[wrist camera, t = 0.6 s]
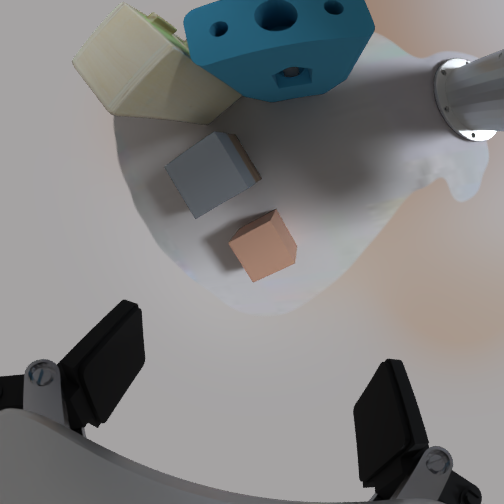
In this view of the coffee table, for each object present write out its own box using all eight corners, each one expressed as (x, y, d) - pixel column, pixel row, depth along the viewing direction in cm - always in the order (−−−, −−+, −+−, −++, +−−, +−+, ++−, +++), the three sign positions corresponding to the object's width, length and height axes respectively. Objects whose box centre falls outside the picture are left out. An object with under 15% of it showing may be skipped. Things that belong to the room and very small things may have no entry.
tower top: (226, 133, 31) (214, 131, 27) (256, 182, 32) (248, 188, 28) (181, 163, 33) (164, 166, 29) (208, 209, 35) (195, 219, 31)
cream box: (249, 92, 32) (181, 40, 13) (208, 127, 35) (108, 118, 16) (213, 55, 31) (126, -7, 12) (175, 89, 33) (68, 62, 14)
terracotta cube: (276, 209, 38) (270, 220, 32) (297, 245, 39) (294, 263, 33) (239, 228, 40) (228, 242, 34) (260, 263, 41) (253, 282, 36)
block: (252, 106, 33) (193, 69, 15) (244, 73, 31) (181, 13, 13) (342, 91, 30) (378, 36, 12) (333, 57, 28) (354, -21, 10)
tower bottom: (235, 134, 35) (225, 133, 31) (261, 178, 36) (255, 182, 32) (194, 161, 37) (180, 164, 33) (219, 203, 39) (208, 210, 35)
